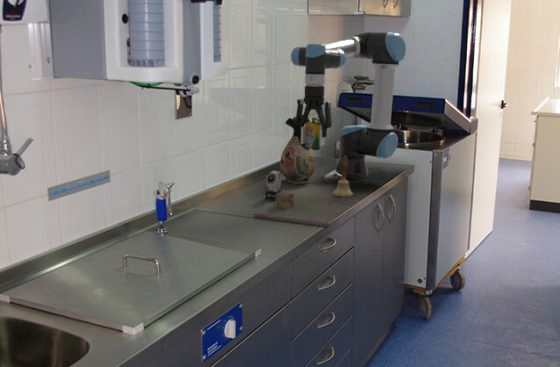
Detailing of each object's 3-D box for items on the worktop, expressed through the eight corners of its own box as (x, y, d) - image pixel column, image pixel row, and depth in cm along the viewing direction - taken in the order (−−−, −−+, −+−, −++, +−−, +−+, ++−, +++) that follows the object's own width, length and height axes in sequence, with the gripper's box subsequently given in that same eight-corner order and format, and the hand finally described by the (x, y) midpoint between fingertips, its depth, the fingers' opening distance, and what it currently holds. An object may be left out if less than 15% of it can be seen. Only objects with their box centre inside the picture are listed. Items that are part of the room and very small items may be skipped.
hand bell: (341, 190, 277) (343, 153, 273) (357, 194, 271) (359, 156, 268) (328, 193, 271) (330, 155, 268) (344, 197, 266) (345, 158, 262)
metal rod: (256, 216, 238) (256, 211, 237) (328, 226, 228) (328, 221, 228) (254, 218, 236) (254, 212, 236) (326, 228, 227) (327, 222, 226)
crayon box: (304, 147, 260) (305, 117, 257) (311, 146, 261) (312, 117, 259) (313, 150, 254) (314, 120, 251) (320, 149, 255) (321, 120, 252)
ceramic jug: (272, 181, 289) (273, 113, 282) (294, 176, 301) (296, 110, 294) (302, 188, 279) (304, 117, 272) (324, 182, 290) (327, 114, 283)
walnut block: (282, 203, 255) (282, 191, 253) (293, 205, 252) (294, 193, 251) (275, 206, 250) (275, 194, 249) (286, 208, 248) (287, 196, 247)
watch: (263, 199, 259) (263, 172, 257) (272, 195, 266) (272, 168, 264) (275, 201, 257) (276, 174, 254) (284, 197, 264) (285, 170, 261)
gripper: (286, 84, 254) (285, 142, 259) (334, 87, 244) (331, 148, 249) (296, 82, 260) (294, 140, 265) (343, 86, 250) (340, 145, 255)
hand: (312, 144), depth 257 cm, fingers closed on crayon box, 7 cm apart
